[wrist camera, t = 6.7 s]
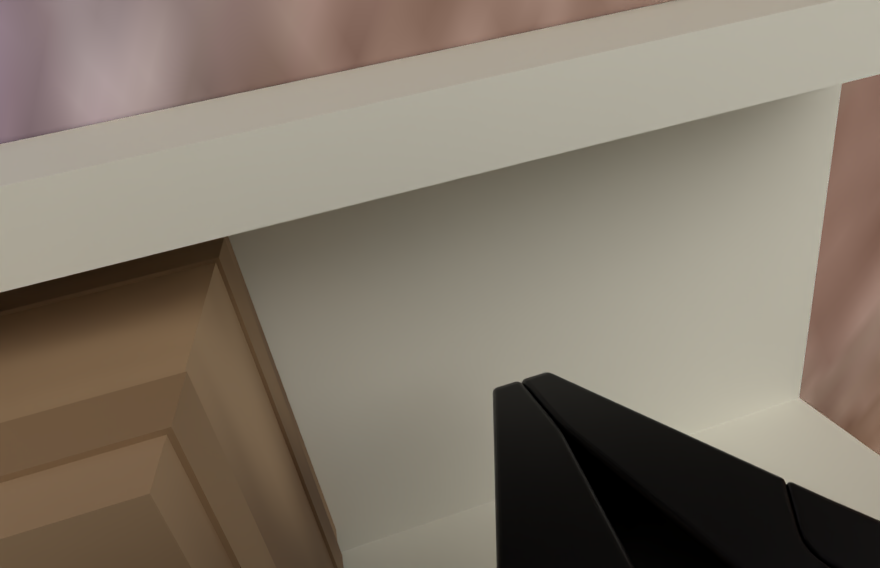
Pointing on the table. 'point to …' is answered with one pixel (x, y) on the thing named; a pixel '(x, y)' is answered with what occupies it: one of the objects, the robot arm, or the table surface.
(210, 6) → the table surface
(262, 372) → the crate
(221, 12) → the table surface
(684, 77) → the bay
